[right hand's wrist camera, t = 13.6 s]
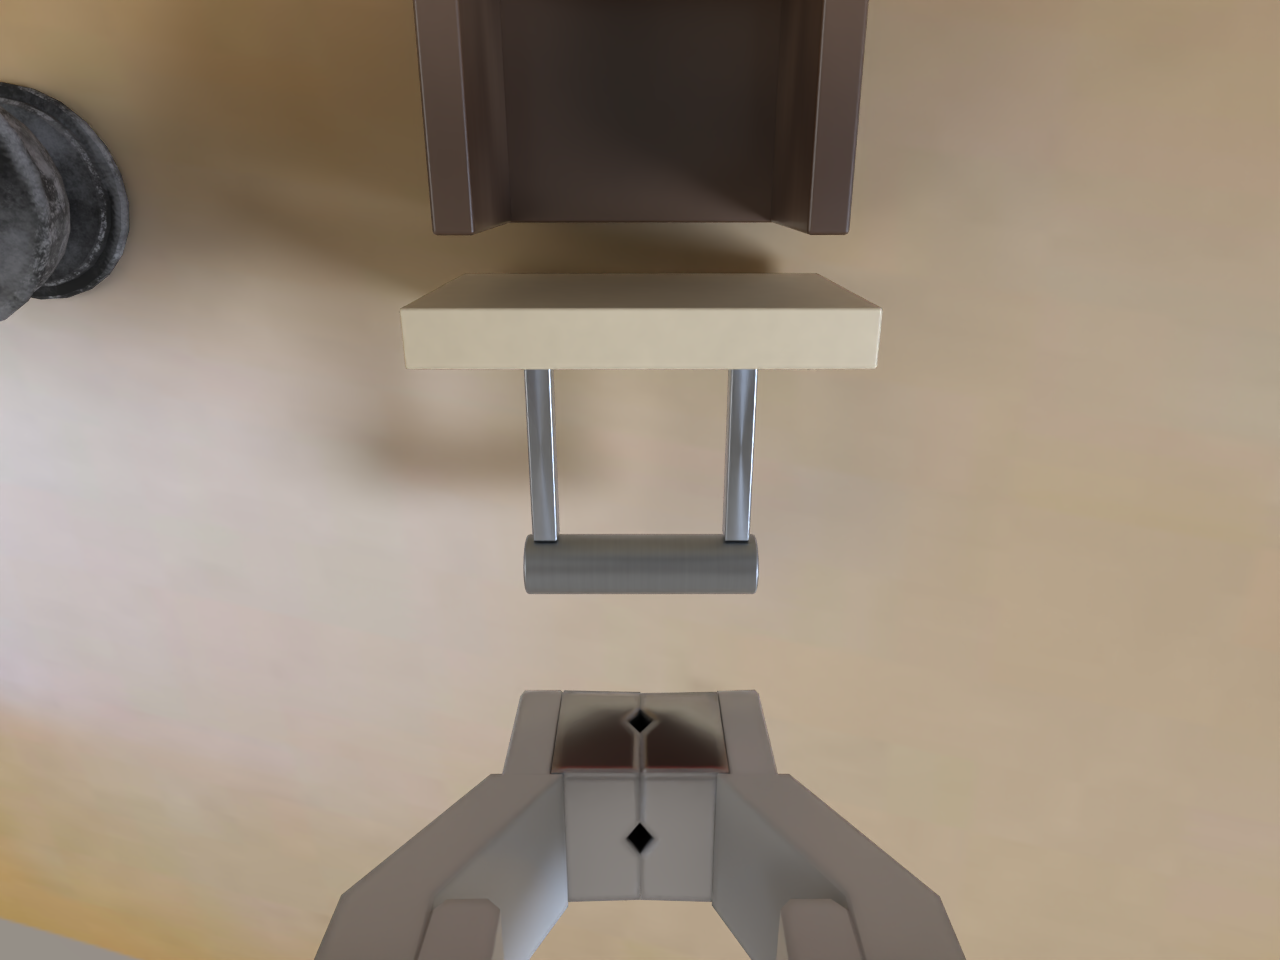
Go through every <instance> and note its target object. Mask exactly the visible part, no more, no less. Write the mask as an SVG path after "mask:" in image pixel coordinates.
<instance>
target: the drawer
mask: <svg viewBox="0 0 1280 960" xmlns="http://www.w3.org/2000/svg"><path fill="white" fill-rule="evenodd" d="M868 2H869V0H413V8H414V20H415V31H416V43H417V55H418V66H419V78H420V90H421V101H422V113H423V125H424V136H425V148H426V160H427V171H428V183H429V195H430V206H431V218H432V230H433V233H434V234H436V235H473V234H476V233H479V232H482V231H485V230H488V229H491V228H494V227H497V226H500V225H503V224H506V223H555V222H773V223H776V224H779V225H782V226H786V227H789V228H792V229H795V230H798V231H801V232H804V233H807V234H810V235H845V234H847V233H848V232H849V227H850V215H851V204H852V192H853V180H854V168H855V156H856V144H857V132H858V121H859V109H860V97H861V85H862V73H863V61H864V49H865V38H866V26H867V14H868ZM400 321H401V331H402V341H403V350H404V360H405V367H406V369H409V370H492V369H524V377H525V397H526V416H527V436H528V455H529V475H530V494H531V514H532V533H533V534H530V535H528V536H527V538H526V542H525V548H524V565H523V568H524V585H525V589H526V592H527V593H528V594H754V593H755V592H756V590H757V586H758V575H759V558H758V546H757V541H756V538H755V536H754V535H752V534H750V516H751V496H752V476H753V456H754V436H755V416H756V396H757V376H758V369H875V368H876V367H877V360H878V350H879V340H880V330H881V321H882V308H880V307H879V306H877V305H875V304H873V303H871V302H869V301H867V300H866V299H864V298H862V297H860V296H858V295H856V294H854V293H853V292H851V291H849V290H847V289H845V288H843V287H841V286H840V285H838V284H836V283H834V282H832V281H830V280H828V279H827V278H825V277H823V276H821V275H819V274H817V273H783V274H463V275H462V276H460V277H458V278H456V279H454V280H452V281H450V282H449V283H447V284H445V285H443V286H441V287H439V288H438V289H436V290H434V291H432V292H430V293H428V294H426V295H425V296H423V297H421V298H419V299H417V300H415V301H413V302H412V303H410V304H408V305H406V306H404V307H402V308H401V309H400ZM553 369H728V395H727V422H726V449H725V476H724V503H723V530H722V531H723V534H559V531H560V527H559V501H558V475H557V449H556V423H555V397H554V371H553Z"/></svg>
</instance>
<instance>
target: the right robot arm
mask: <svg viewBox="0 0 1280 960" xmlns="http://www.w3.org/2000/svg"><path fill="white" fill-rule="evenodd" d="M612 900H666V901H701V902H712V906H713V907H714V909H715V910H716V912H717V913H718V914H719V916H720V917H721V918H722V920H723V921H724V922H725V924H726V925H727V927H728V928H729V929H730V931H731V932H732V933H733V935H734V936H735V938H736V939H737V940H738V942H739V943H740V944H741V946H742V947H743V949H744V950H745V951H746V953H747V954H748V955H749V957H750V958H751V960H966V958H965V956H964V954H963V951H962V949H961V946H960V944H959V942H958V939H957V937H956V934H955V932H954V930H953V927H952V925H951V922H950V920H949V918H948V915H947V913H946V910H945V908H944V906H943V903H942V901H941V899H940V896H938V895H937V894H936V893H935V892H933V891H932V890H931V889H930V888H929V887H927V886H926V885H925V884H924V883H922V882H921V881H920V880H919V879H918V878H916V877H915V876H914V875H913V874H911V873H910V872H909V871H908V870H906V869H905V868H904V867H903V866H902V865H900V864H899V863H898V862H897V861H895V860H894V859H893V858H892V857H891V856H889V855H888V854H887V853H886V852H884V851H883V850H882V849H881V848H879V847H878V846H877V845H876V844H875V843H873V842H872V841H871V840H870V839H868V838H867V837H866V836H865V835H864V834H862V833H861V832H860V831H859V830H857V829H856V828H855V827H854V826H852V825H851V824H850V823H849V822H848V821H846V820H845V819H844V818H843V817H841V816H840V815H839V814H838V813H837V812H835V811H834V810H833V809H832V808H830V807H829V806H828V805H827V804H825V803H824V802H823V801H822V800H821V799H819V798H818V797H817V796H816V795H814V794H813V793H812V792H811V791H810V790H808V789H807V788H806V787H805V786H803V785H802V784H801V783H800V782H798V781H797V780H796V779H795V778H794V777H792V776H791V775H790V774H778V773H777V769H776V764H775V760H774V756H773V752H772V747H771V743H770V739H769V735H768V731H767V726H766V722H765V718H764V714H763V709H762V705H761V701H760V697H759V694H758V693H757V692H756V691H755V690H735V691H717V692H680V693H640V692H611V691H564V692H562V691H561V690H525V691H524V692H523V694H522V695H521V696H520V700H519V704H518V709H517V713H516V717H515V722H514V726H513V730H512V734H511V739H510V743H509V747H508V751H507V756H506V760H505V764H504V769H503V773H502V774H490V775H489V776H488V777H486V778H485V779H484V780H483V781H482V782H480V783H479V784H478V785H477V786H475V787H474V788H473V789H472V790H470V791H469V792H468V793H467V794H466V795H464V796H463V797H462V798H461V799H459V800H458V801H457V802H456V803H454V804H453V805H452V806H451V807H449V808H448V809H447V810H446V811H445V812H443V813H442V814H441V815H440V816H438V817H437V818H436V819H435V820H433V821H432V822H431V823H430V824H429V825H427V826H426V827H425V828H424V829H422V830H421V831H420V832H419V833H417V834H416V835H415V836H414V837H413V838H411V839H410V840H409V841H408V842H406V843H405V844H404V845H403V846H401V847H400V848H399V849H398V850H396V851H395V852H394V853H393V854H392V855H390V856H389V857H388V858H387V859H385V860H384V861H383V862H382V863H380V864H379V865H378V866H377V867H376V868H374V869H373V870H372V871H371V872H369V873H368V874H367V875H366V876H364V877H363V878H362V879H361V880H359V881H358V882H357V883H356V884H355V885H353V886H352V887H351V888H350V889H348V890H347V891H346V892H345V893H343V894H342V895H341V897H340V900H339V902H338V904H337V907H336V909H335V911H334V914H333V916H332V918H331V921H330V923H329V926H328V928H327V930H326V933H325V935H324V937H323V940H322V942H321V944H320V947H319V949H318V951H317V954H316V956H315V959H314V960H529V959H530V958H531V956H532V955H533V953H534V952H535V951H536V949H537V948H538V947H539V945H540V944H541V942H542V941H543V940H544V938H545V937H546V936H547V934H548V933H549V932H550V930H551V929H552V927H553V926H554V925H555V923H556V922H557V921H558V919H559V918H560V917H561V915H562V914H563V912H564V911H565V910H566V908H567V907H568V902H578V901H612Z"/></svg>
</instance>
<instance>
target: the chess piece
mask: <svg viewBox="0 0 1280 960" xmlns="http://www.w3.org/2000/svg"><path fill="white" fill-rule="evenodd" d="M128 232H129V202H128V198H127V195H126V191H125V187H124V183H123V179H122V176H121V173H120V171H119V169H118V167H117V165H116V164H115V162H114V160H113V158H112V156H111V154H110V152H109V150H108V148H107V147H106V145H105V144H104V143H103V142H102V140H101V139H100V138H99V137H98V136H97V134H96V133H95V132H94V131H93V130H92V128H91V127H90V126H89V125H88V124H87V122H85V121H84V120H83V119H82V118H80V117H79V116H78V115H77V114H75V113H74V112H73V111H72V110H70V109H69V108H68V107H67V106H65V105H64V104H63V103H62V102H60V101H58V100H56V99H53V98H51V97H49V96H47V95H45V94H43V93H41V92H39V91H37V90H35V89H32V88H27V87H22V86H18V85H13V84H8V83H3V82H0V321H3V320H5V319H7V318H8V317H9V316H10V315H12V314H13V313H14V312H15V311H16V310H18V309H19V308H20V307H21V306H23V305H24V304H25V303H26V302H28V301H29V299H30V297H31V298H37V299H55V298H68V297H71V296H74V295H76V294H79V293H82V292H85V291H87V290H90V289H92V288H93V287H95V286H96V285H97V284H98V283H100V282H101V281H102V280H103V279H105V278H106V277H107V276H108V275H110V273H111V272H112V270H113V269H114V267H115V265H116V264H117V262H118V261H119V259H120V258H121V256H122V254H123V251H124V247H125V243H126V240H127V236H128Z"/></svg>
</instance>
